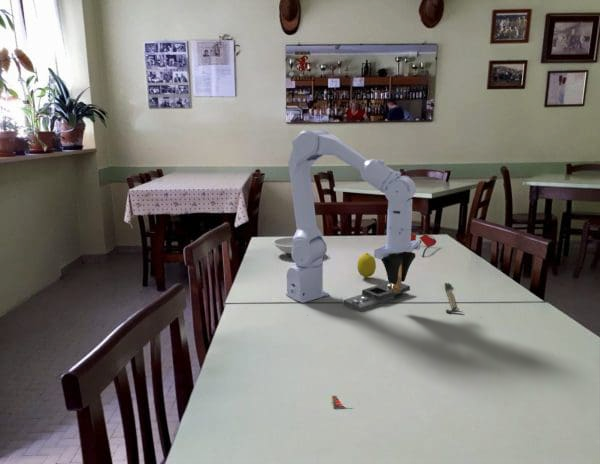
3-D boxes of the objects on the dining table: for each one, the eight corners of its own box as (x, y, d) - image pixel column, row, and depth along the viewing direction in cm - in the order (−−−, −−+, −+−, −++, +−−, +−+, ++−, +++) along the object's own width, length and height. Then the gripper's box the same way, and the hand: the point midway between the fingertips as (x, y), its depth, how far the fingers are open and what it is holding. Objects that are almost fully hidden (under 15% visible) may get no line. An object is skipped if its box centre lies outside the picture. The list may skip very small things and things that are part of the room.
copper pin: (396, 293, 110) (398, 262, 108) (389, 290, 112) (390, 259, 110) (403, 291, 111) (404, 260, 110) (395, 288, 113) (397, 258, 112)
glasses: (436, 248, 172) (437, 235, 171) (423, 258, 158) (423, 244, 157) (401, 243, 179) (401, 231, 178) (385, 253, 166) (386, 239, 165)
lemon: (370, 282, 133) (370, 256, 131) (353, 279, 136) (354, 253, 135) (378, 277, 137) (379, 252, 136) (362, 274, 141) (363, 249, 139)
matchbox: (362, 407, 74) (363, 405, 74) (333, 413, 73) (333, 411, 73) (351, 392, 79) (351, 390, 79) (323, 397, 77) (323, 395, 77)
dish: (267, 259, 157) (267, 245, 156) (277, 249, 171) (276, 236, 170) (318, 261, 154) (318, 247, 153) (323, 250, 168) (323, 237, 167)
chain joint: (359, 311, 112) (360, 300, 112) (343, 304, 117) (343, 293, 116) (409, 294, 123) (410, 284, 123) (392, 288, 128) (393, 278, 127)
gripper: (391, 235, 101) (388, 292, 104) (431, 226, 109) (428, 279, 112) (368, 229, 106) (366, 284, 109) (408, 221, 115) (406, 272, 118)
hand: (396, 281), depth 111 cm, fingers closed on copper pin, 2 cm apart
